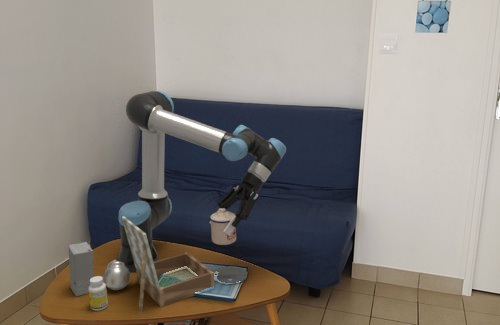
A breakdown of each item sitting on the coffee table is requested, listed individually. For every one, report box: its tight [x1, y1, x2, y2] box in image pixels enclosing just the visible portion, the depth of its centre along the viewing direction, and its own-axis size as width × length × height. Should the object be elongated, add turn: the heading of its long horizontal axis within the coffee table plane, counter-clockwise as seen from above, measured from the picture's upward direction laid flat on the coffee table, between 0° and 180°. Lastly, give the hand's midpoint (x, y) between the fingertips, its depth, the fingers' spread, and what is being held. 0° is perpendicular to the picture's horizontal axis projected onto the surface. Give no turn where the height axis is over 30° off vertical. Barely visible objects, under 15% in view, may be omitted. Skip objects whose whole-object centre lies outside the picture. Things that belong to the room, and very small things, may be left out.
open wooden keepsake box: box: [122, 216, 215, 312], centre depth 157 cm, size 20×27×26 cm
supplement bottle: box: [88, 275, 109, 311], centre depth 148 cm, size 5×5×10 cm
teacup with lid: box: [209, 208, 237, 246], centre depth 162 cm, size 12×9×12 cm
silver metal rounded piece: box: [103, 259, 131, 291], centre depth 159 cm, size 9×10×10 cm
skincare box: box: [67, 241, 95, 297], centre depth 158 cm, size 8×7×16 cm
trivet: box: [215, 265, 248, 283], centre depth 167 cm, size 12×12×1 cm
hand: (218, 229), depth 160 cm, fingers closed on teacup with lid, 9 cm apart
